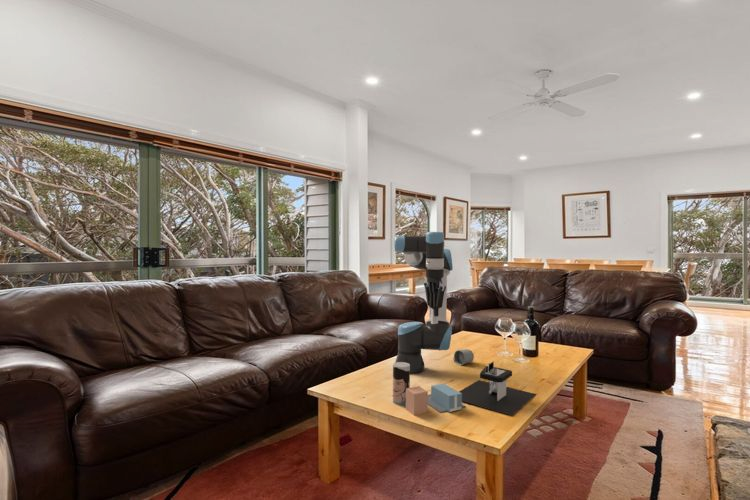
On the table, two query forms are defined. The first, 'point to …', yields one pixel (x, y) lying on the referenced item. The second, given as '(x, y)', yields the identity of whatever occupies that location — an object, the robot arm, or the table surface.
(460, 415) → the table surface
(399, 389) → the white patterned canister
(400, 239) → the robot arm
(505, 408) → the black-topped pedestal
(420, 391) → the terracotta block
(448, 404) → the slate-blue block
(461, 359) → the ceramic mug
